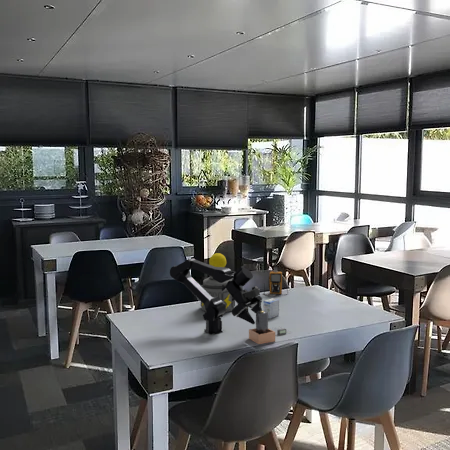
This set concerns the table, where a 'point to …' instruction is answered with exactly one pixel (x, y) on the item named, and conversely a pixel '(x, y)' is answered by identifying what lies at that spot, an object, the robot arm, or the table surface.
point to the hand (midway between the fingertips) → (259, 321)
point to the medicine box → (271, 307)
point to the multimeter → (275, 282)
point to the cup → (262, 336)
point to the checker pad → (280, 331)
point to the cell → (261, 322)
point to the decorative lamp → (218, 284)
